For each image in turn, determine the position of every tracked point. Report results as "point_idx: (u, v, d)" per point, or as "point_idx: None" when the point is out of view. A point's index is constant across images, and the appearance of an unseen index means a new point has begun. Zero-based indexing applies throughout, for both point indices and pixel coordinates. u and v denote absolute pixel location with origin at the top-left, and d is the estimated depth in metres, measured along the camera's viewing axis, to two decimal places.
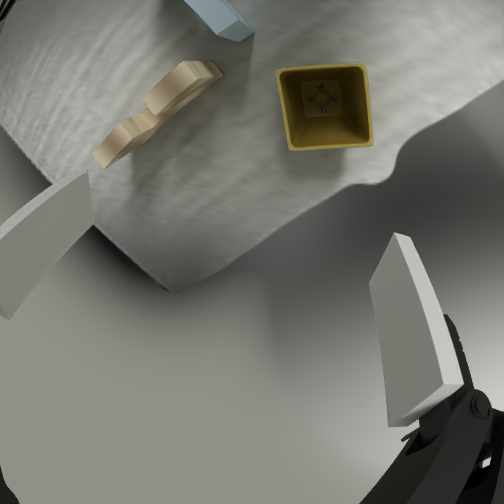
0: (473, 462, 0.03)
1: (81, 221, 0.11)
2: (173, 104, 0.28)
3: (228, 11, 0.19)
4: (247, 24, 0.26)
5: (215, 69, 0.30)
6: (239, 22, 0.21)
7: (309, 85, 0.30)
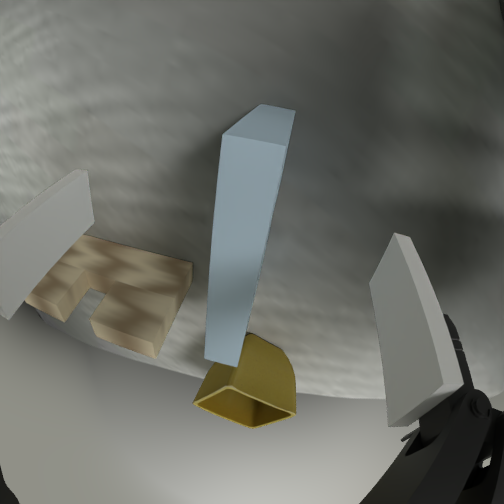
0: (473, 462, 0.03)
1: (81, 221, 0.11)
2: None
3: (237, 358, 0.19)
4: None
5: (187, 283, 0.28)
6: None
7: None
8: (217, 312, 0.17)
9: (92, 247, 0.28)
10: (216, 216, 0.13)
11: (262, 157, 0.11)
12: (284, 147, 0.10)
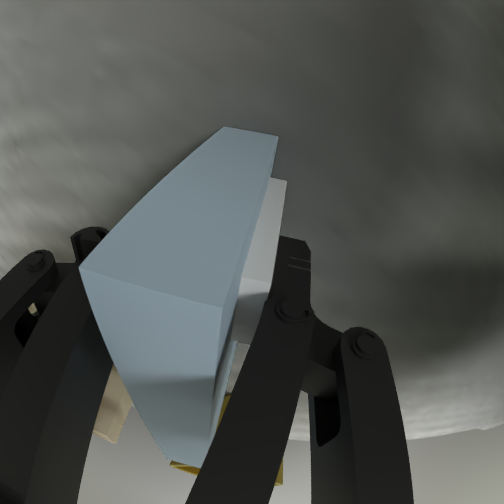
0: (301, 371, 0.05)
1: None
2: None
3: None
4: None
5: None
6: None
7: None
8: (167, 442, 0.10)
9: None
10: (123, 377, 0.06)
11: (170, 322, 0.04)
12: (218, 309, 0.04)
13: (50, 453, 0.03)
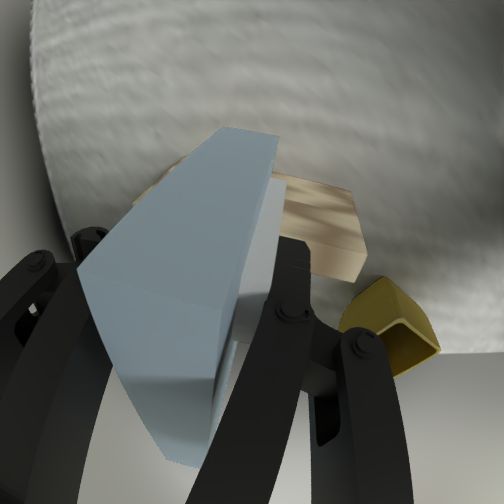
0: (301, 371, 0.05)
1: None
2: None
3: None
4: (232, 361, 0.20)
5: None
6: None
7: None
8: (167, 443, 0.10)
9: None
10: (123, 379, 0.06)
11: (169, 324, 0.04)
12: (217, 312, 0.04)
13: (49, 452, 0.03)
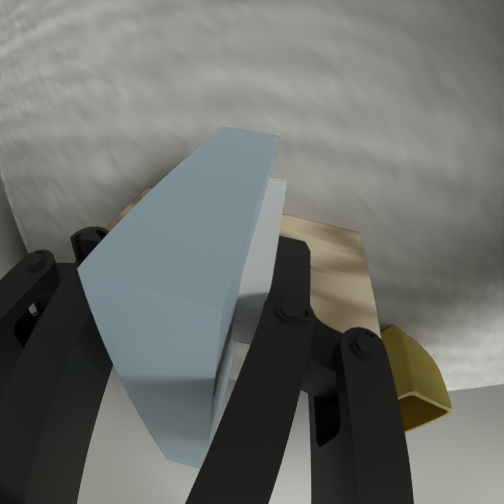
0: (301, 371, 0.05)
1: None
2: None
3: None
4: None
5: None
6: None
7: None
8: (167, 442, 0.10)
9: None
10: (123, 378, 0.06)
11: (170, 323, 0.04)
12: (217, 311, 0.04)
13: (49, 452, 0.03)
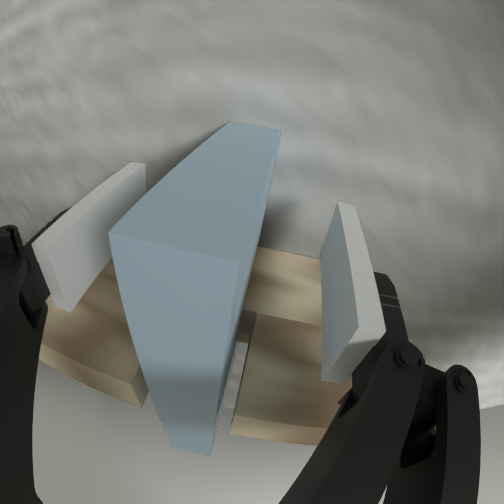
0: (410, 417, 0.05)
1: None
2: None
3: (208, 452, 0.14)
4: (236, 349, 0.20)
5: None
6: None
7: None
8: (174, 424, 0.11)
9: None
10: (138, 348, 0.07)
11: (191, 280, 0.05)
12: (234, 264, 0.05)
13: None
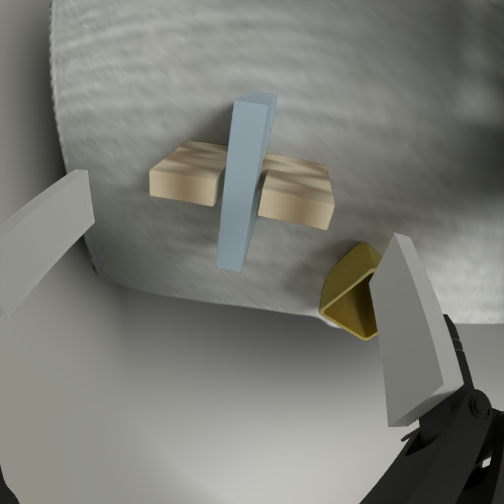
0: (473, 462, 0.03)
1: (81, 221, 0.11)
2: None
3: (240, 262, 0.28)
4: (254, 222, 0.35)
5: None
6: None
7: None
8: (228, 219, 0.25)
9: (224, 149, 0.30)
10: (229, 147, 0.21)
11: (255, 111, 0.19)
12: (267, 106, 0.19)
13: None
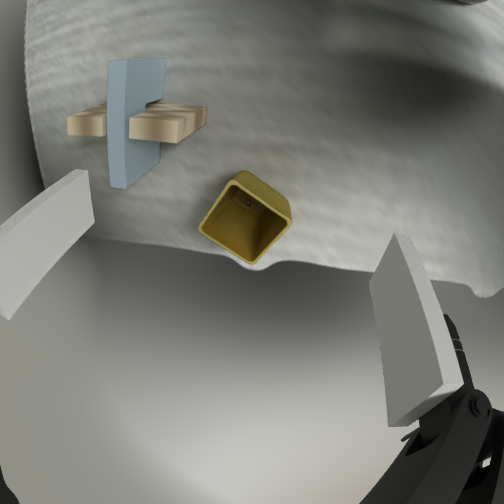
0: (473, 462, 0.03)
1: (81, 221, 0.11)
2: None
3: (124, 179, 0.32)
4: (154, 159, 0.39)
5: (202, 119, 0.35)
6: (130, 185, 0.34)
7: None
8: (111, 144, 0.29)
9: None
10: (108, 92, 0.26)
11: (120, 65, 0.24)
12: (126, 60, 0.23)
13: None
